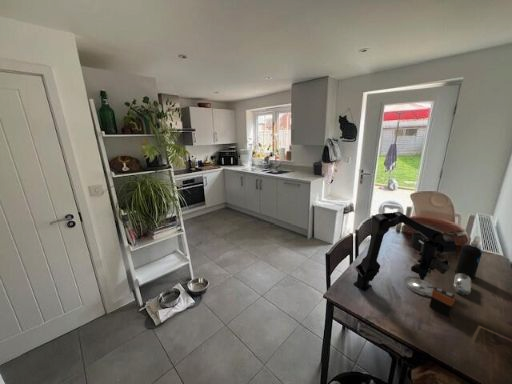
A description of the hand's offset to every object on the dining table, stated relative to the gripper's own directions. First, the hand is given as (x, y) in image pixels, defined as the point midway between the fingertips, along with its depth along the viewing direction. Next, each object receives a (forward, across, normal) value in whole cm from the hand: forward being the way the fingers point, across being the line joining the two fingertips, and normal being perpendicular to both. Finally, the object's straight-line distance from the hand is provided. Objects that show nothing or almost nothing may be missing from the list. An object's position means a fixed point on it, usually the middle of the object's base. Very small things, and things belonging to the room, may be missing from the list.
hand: (422, 279), depth 104 cm
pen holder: (+5, +44, +16) cm, 47 cm away
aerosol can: (+5, +31, -10) cm, 33 cm away
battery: (+5, -10, -10) cm, 15 cm away
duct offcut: (+5, +15, -12) cm, 20 cm away
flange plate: (+5, 0, 0) cm, 5 cm away
